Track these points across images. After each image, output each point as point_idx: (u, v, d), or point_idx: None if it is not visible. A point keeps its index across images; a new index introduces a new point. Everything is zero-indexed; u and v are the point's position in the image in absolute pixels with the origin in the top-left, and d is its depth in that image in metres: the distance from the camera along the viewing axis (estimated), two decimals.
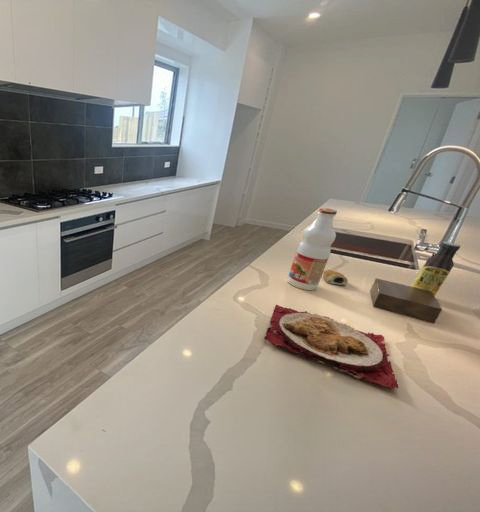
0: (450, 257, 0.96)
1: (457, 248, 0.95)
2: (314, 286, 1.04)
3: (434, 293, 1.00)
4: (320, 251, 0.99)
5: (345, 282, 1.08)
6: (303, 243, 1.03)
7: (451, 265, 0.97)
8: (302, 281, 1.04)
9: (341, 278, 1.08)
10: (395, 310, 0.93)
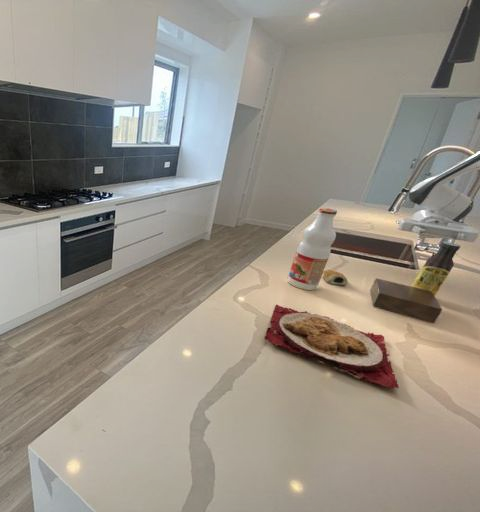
0: (450, 257, 0.96)
1: (457, 248, 0.95)
2: (314, 286, 1.04)
3: (434, 293, 1.00)
4: (320, 251, 0.99)
5: (345, 282, 1.08)
6: (303, 243, 1.03)
7: (451, 265, 0.97)
8: (302, 281, 1.04)
9: (341, 278, 1.08)
10: (395, 310, 0.93)
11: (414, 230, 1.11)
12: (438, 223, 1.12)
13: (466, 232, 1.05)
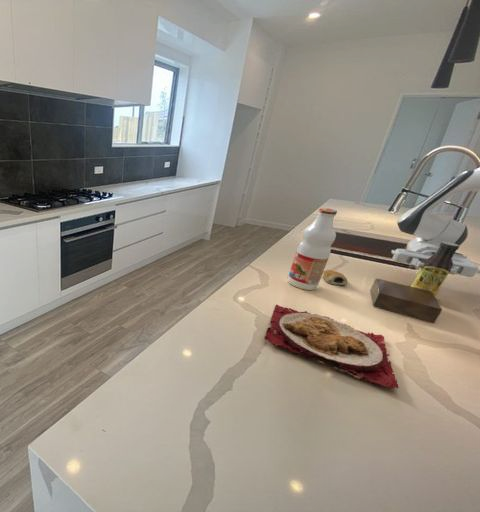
0: (449, 256, 0.96)
1: (456, 248, 0.95)
2: (314, 286, 1.04)
3: (434, 293, 1.00)
4: (320, 251, 0.99)
5: (345, 282, 1.08)
6: (303, 243, 1.03)
7: (450, 265, 0.97)
8: (302, 281, 1.04)
9: (341, 278, 1.08)
10: (395, 310, 0.93)
11: (413, 263, 1.04)
12: None
13: (464, 266, 0.98)
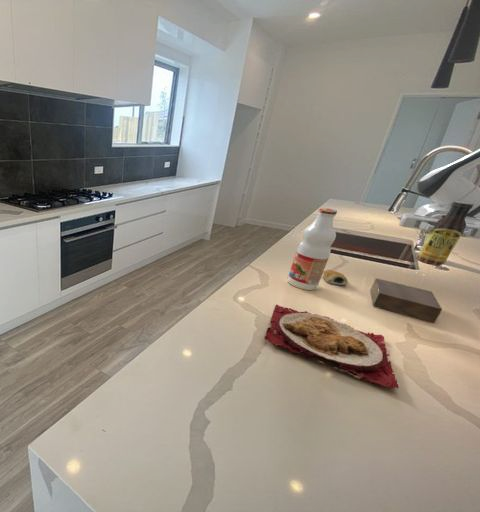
0: (462, 217, 0.88)
1: (470, 206, 0.86)
2: (314, 286, 1.04)
3: (445, 258, 0.92)
4: (320, 251, 0.99)
5: (345, 282, 1.08)
6: (303, 243, 1.03)
7: (463, 226, 0.89)
8: (302, 281, 1.04)
9: (341, 278, 1.08)
10: (395, 310, 0.93)
11: (422, 227, 0.96)
12: None
13: (479, 228, 0.90)
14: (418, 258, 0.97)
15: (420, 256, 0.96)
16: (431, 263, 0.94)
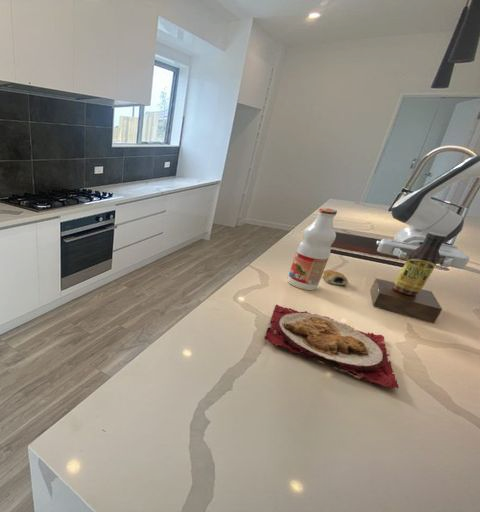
0: (436, 248, 0.88)
1: (443, 238, 0.86)
2: (314, 286, 1.04)
3: (419, 288, 0.92)
4: (320, 251, 0.99)
5: (345, 282, 1.08)
6: (303, 243, 1.03)
7: (437, 257, 0.89)
8: (302, 281, 1.04)
9: (341, 278, 1.08)
10: (395, 310, 0.93)
11: (395, 253, 0.96)
12: None
13: (454, 257, 0.90)
14: (394, 287, 0.97)
15: (395, 284, 0.96)
16: (406, 293, 0.94)
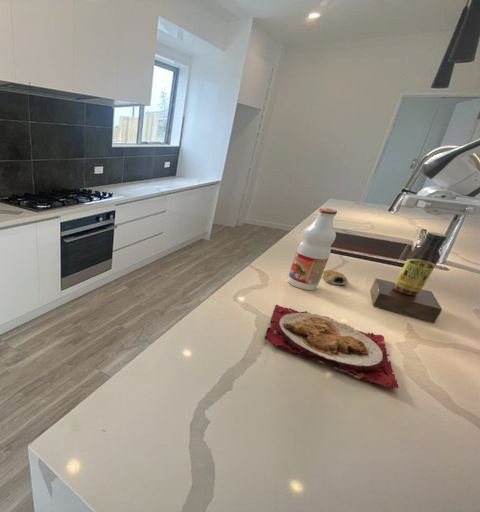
0: (436, 248, 0.88)
1: (443, 238, 0.86)
2: (314, 286, 1.04)
3: (419, 288, 0.92)
4: (320, 251, 0.99)
5: (345, 282, 1.08)
6: (303, 243, 1.03)
7: (437, 257, 0.89)
8: (302, 281, 1.04)
9: (341, 278, 1.08)
10: (395, 310, 0.93)
11: (419, 205, 1.03)
12: (445, 198, 1.04)
13: (476, 205, 0.97)
14: (394, 287, 0.97)
15: (395, 284, 0.96)
16: (406, 293, 0.94)
